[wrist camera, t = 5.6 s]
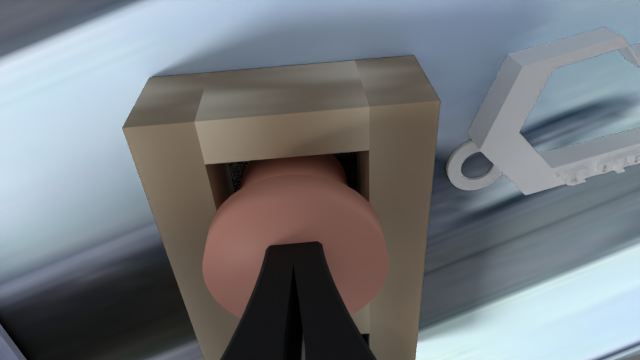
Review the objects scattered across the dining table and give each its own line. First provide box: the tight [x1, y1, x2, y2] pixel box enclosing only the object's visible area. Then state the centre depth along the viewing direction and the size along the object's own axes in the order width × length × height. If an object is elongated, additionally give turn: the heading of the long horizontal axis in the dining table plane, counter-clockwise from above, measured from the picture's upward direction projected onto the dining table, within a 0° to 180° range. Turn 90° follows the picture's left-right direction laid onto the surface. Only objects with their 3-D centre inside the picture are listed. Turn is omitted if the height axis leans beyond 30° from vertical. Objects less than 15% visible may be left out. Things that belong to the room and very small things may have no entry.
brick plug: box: [202, 153, 389, 318], centre depth 14 cm, size 5×5×4 cm
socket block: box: [122, 55, 440, 360], centre depth 18 cm, size 8×15×3 cm, turn 3°
